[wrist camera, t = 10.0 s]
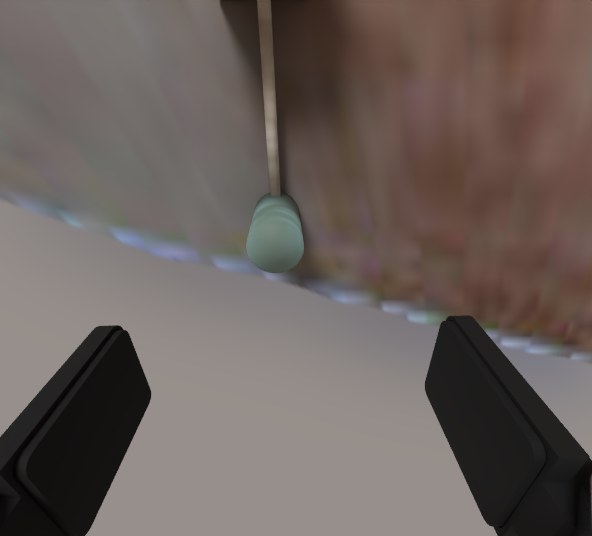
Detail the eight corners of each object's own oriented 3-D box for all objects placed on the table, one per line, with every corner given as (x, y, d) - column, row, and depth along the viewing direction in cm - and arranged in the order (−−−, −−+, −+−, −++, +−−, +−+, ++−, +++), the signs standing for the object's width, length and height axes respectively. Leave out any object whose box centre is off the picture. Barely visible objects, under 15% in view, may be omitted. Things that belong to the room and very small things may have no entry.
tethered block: (310, -144, 14) (327, -296, 9) (311, 232, 23) (319, 271, 17) (201, -142, 14) (151, -296, 8) (245, 235, 23) (233, 274, 17)
